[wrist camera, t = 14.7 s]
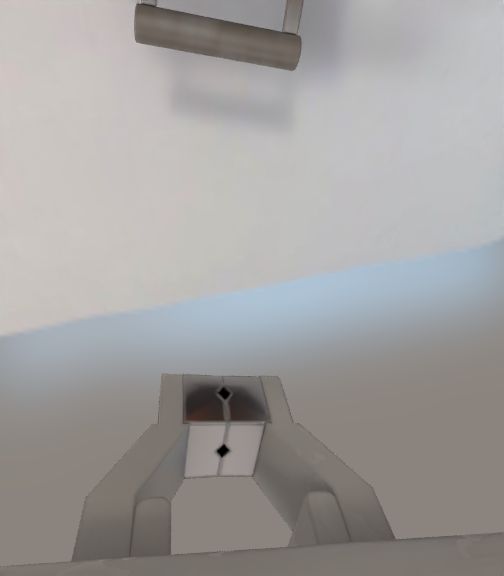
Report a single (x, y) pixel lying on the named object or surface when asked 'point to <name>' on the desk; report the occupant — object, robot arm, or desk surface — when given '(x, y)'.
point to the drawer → (221, 35)
